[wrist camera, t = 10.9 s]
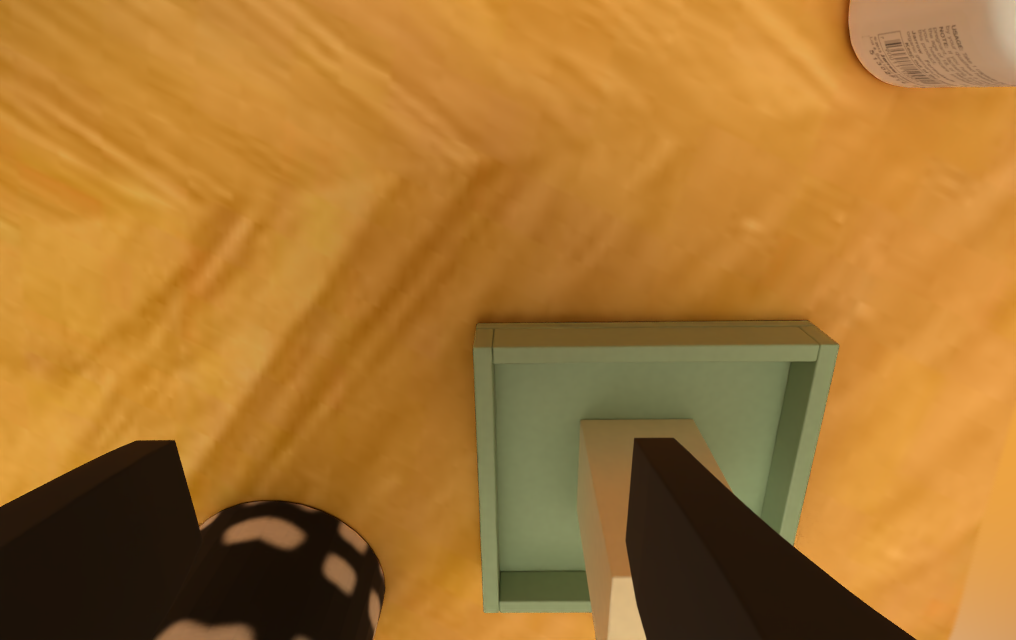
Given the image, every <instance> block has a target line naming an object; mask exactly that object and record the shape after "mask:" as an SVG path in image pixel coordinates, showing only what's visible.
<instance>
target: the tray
mask: <svg viewBox="0 0 1016 640" xmlns="http://www.w3.org/2000/svg"><path fill="white" fill-rule="evenodd" d="M838 350H839V344H838V343H837V342H835V341H834V340H833V339H831V338H830V337H829V336H828V335H826V334H825V333H824V332H823V331H821V330H820V329H819V328H817V327H816V326H815V325H814V324H812V323H811V322H810V321H808V320H802V321H683V322H565V323H478V324H477V325H476V332H475V338H474V344H473V365H474V389H475V414H476V438H477V463H478V488H479V512H480V537H481V561H482V586H483V611H484V613H498V612H499V611H500V612H501V613H569V612H592V609H591V602H590V595H589V589H588V582H587V575H586V569H585V562H584V555H583V549H582V542H581V535H580V529H579V522H578V515H577V486H578V462H579V438H580V421H581V420H628V419H693V420H694V422H695V424H696V426H697V427H698V429H699V431H700V433H701V435H702V437H703V438H704V440H705V442H706V444H707V446H708V448H709V449H710V451H711V453H712V455H713V457H714V459H715V460H716V462H717V464H718V466H719V468H720V470H721V471H722V473H723V475H724V477H725V479H726V481H727V482H728V484H729V486H730V488H731V490H732V492H733V493H734V495H735V496H736V497H738V498H739V499H740V500H741V501H742V502H743V503H744V504H745V505H746V506H747V507H749V508H750V509H751V510H752V511H753V512H754V513H755V514H756V515H758V516H759V517H760V518H761V519H762V520H763V521H764V522H765V523H767V524H768V525H769V526H770V527H771V528H772V529H773V530H775V531H776V532H777V533H778V534H779V535H780V536H782V537H783V538H784V539H785V540H786V541H788V542H789V543H790V544H791V545H792V546H793V545H794V541H795V536H796V532H797V528H798V523H799V519H800V515H801V510H802V506H803V502H804V497H805V493H806V489H807V484H808V480H809V476H810V471H811V467H812V463H813V458H814V454H815V450H816V445H817V441H818V437H819V432H820V428H821V424H822V419H823V415H824V411H825V406H826V402H827V398H828V393H829V389H830V385H831V380H832V376H833V372H834V367H835V363H836V359H837V354H838Z"/></svg>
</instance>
